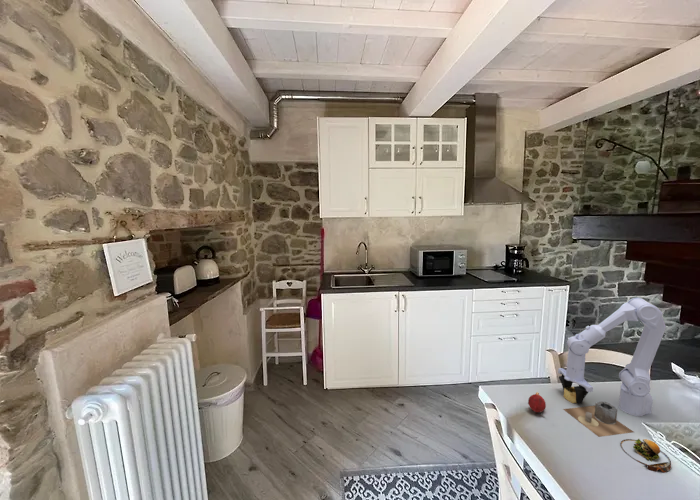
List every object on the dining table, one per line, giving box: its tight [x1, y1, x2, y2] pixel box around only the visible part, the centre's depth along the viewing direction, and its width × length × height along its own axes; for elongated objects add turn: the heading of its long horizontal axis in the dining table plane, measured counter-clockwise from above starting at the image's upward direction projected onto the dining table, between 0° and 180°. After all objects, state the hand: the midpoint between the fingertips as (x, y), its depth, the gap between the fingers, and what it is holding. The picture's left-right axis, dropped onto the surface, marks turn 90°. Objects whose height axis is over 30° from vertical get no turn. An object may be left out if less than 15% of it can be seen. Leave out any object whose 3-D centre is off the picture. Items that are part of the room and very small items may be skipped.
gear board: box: [562, 405, 634, 438], centre depth 115 cm, size 14×15×4 cm
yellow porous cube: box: [563, 386, 577, 404], centre depth 127 cm, size 5×5×5 cm
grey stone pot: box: [594, 401, 618, 424], centre depth 115 cm, size 5×5×5 cm
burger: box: [620, 438, 672, 473], centre depth 99 cm, size 12×12×8 cm
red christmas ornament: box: [527, 391, 547, 414], centre depth 121 cm, size 6×6×8 cm
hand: (572, 398), depth 127 cm, fingers closed on yellow porous cube, 5 cm apart
